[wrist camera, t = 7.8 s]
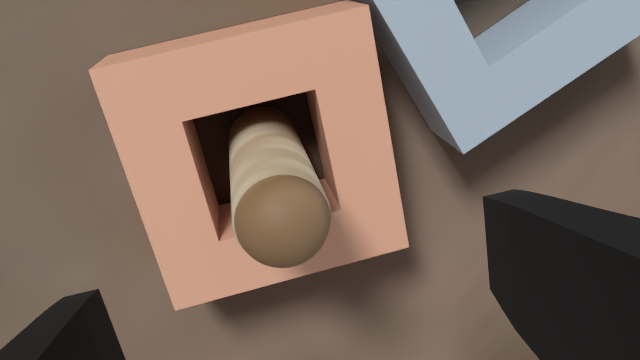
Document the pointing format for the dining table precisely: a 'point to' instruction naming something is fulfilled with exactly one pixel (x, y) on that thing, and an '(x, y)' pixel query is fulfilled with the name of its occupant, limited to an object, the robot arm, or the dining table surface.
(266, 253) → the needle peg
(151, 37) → the dining table surface
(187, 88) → the pink square ring
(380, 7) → the pale blue square ring
